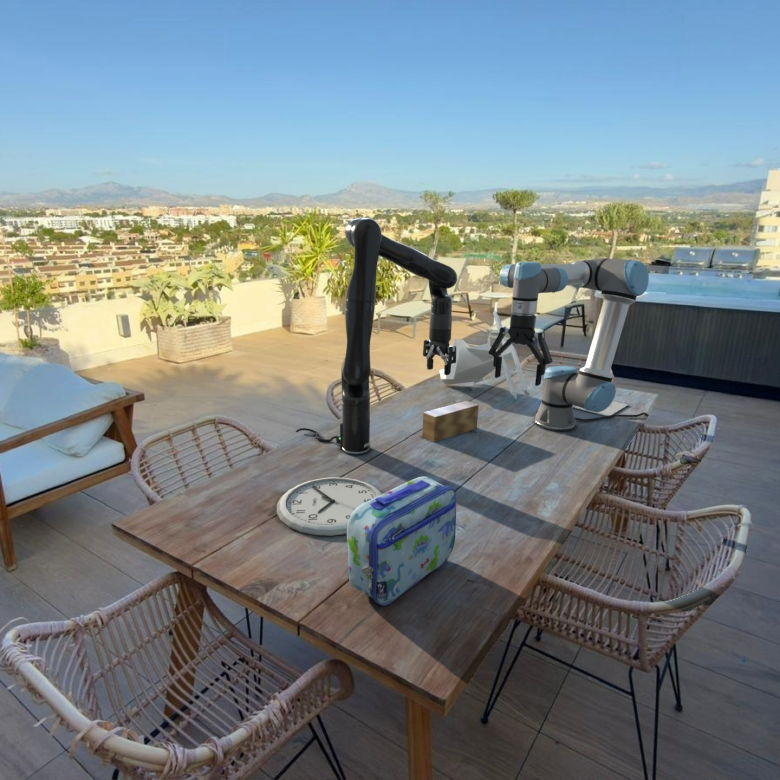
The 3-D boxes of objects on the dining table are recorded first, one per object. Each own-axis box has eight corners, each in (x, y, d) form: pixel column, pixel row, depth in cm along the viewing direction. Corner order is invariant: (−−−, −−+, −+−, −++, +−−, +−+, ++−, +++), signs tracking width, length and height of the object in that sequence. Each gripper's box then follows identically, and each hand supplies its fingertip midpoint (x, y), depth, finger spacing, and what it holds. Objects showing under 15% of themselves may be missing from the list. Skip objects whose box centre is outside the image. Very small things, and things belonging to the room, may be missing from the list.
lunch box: (376, 619, 101) (377, 524, 95) (340, 592, 109) (339, 502, 102) (459, 562, 119) (465, 479, 113) (424, 542, 126) (427, 463, 120)
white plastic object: (461, 429, 252) (437, 405, 227) (444, 352, 274) (420, 323, 250) (535, 404, 240) (518, 377, 215) (510, 326, 262) (492, 293, 237)
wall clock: (392, 527, 129) (268, 531, 127) (391, 533, 130) (269, 537, 127) (383, 473, 158) (282, 475, 155) (383, 478, 158) (282, 480, 156)
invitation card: (608, 416, 214) (573, 407, 224) (608, 416, 214) (573, 408, 224) (628, 404, 229) (594, 396, 238) (628, 405, 229) (594, 397, 238)
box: (465, 423, 204) (466, 400, 201) (476, 428, 199) (478, 404, 197) (422, 436, 191) (423, 412, 188) (433, 442, 186) (435, 417, 183)
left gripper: (418, 324, 181) (416, 369, 186) (447, 330, 171) (444, 378, 175) (434, 322, 186) (432, 366, 191) (463, 328, 175) (460, 374, 180)
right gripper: (481, 311, 164) (476, 376, 170) (559, 320, 149) (551, 391, 156) (491, 308, 169) (487, 371, 176) (568, 317, 155) (560, 385, 161)
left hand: (438, 372), depth 183 cm, fingers open, 8 cm apart
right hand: (517, 380), depth 166 cm, fingers open, 13 cm apart
